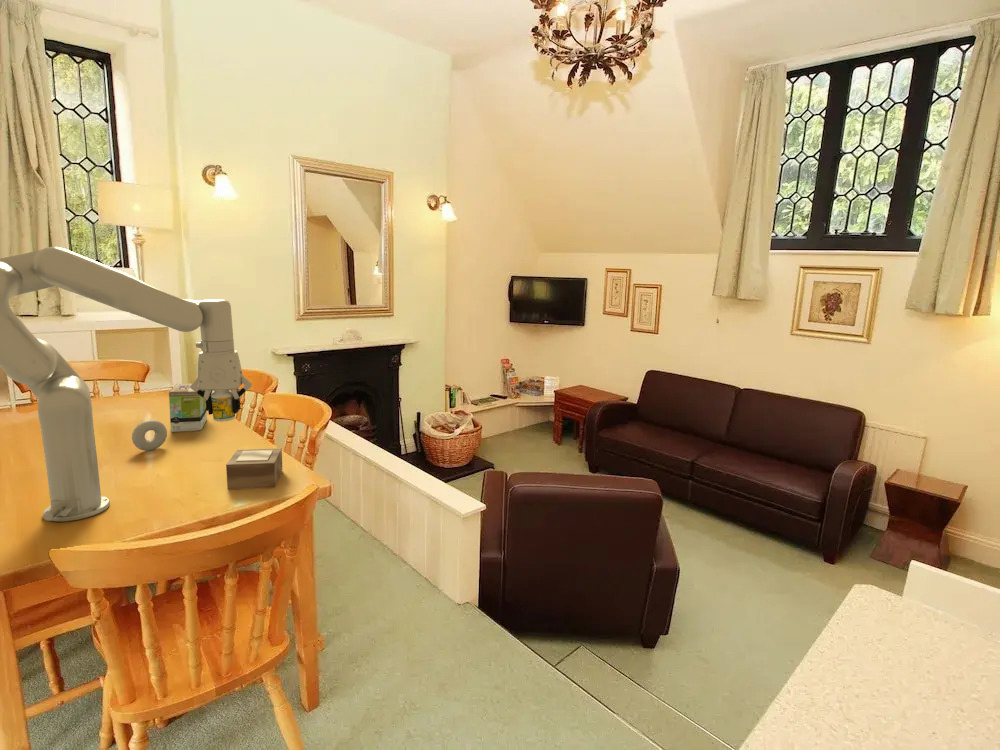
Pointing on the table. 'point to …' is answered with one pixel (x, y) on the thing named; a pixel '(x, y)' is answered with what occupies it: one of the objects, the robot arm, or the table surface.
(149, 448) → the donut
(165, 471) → the table surface
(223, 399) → the supplement bottle
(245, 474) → the walnut block
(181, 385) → the tea box
